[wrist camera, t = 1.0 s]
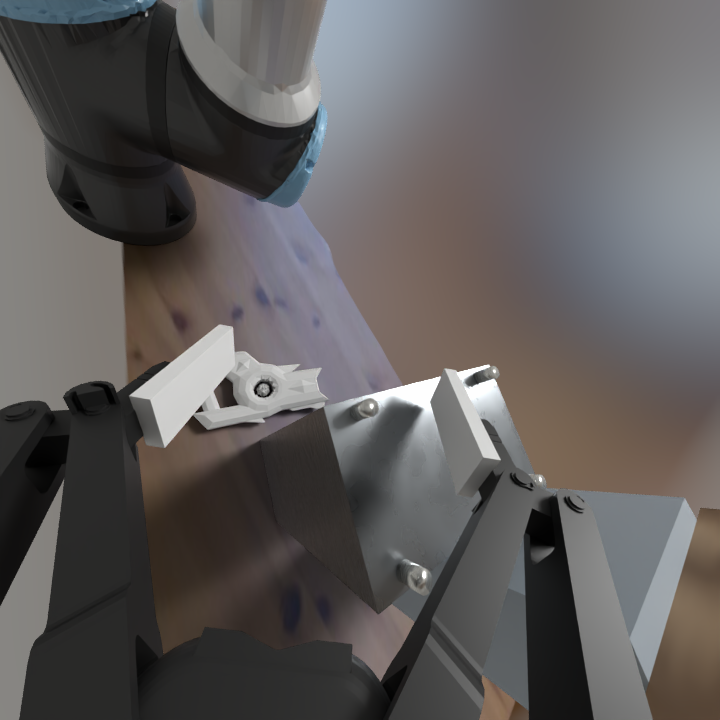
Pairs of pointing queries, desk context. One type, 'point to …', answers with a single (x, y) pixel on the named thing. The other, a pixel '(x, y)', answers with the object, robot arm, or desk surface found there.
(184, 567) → the desk surface
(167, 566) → the desk surface
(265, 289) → the desk surface
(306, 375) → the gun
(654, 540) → the stand
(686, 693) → the rail
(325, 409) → the plate
